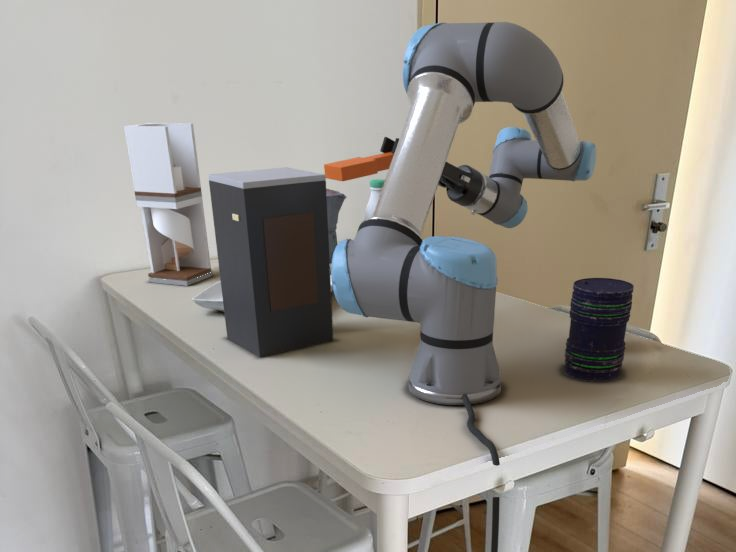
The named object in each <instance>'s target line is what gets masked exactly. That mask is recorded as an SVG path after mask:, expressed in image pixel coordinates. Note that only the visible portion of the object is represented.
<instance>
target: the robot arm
mask: <svg viewBox="0 0 736 552" xmlns="http://www.w3.org/2000/svg"><path fill="white" fill-rule="evenodd" d="M403 55H404V56H403V64H404V65H403V67H402V73H401V75H402V84H403V88H404V91H405V93H406V96H407V99H408V103H409V104H410V107H409V110H408V113H407V116H406V119H405V122H404V124H403V127H402V130H401V133H400V136H399V138H398V137H396V138H395V140H393V139H391V138H390V137H388V136H384V138H383V140H382V143H381V146H380V151H379V152H380V153H382V154H383V153H388V152H391V153H393V154H394V156H393V159H392V162H391V165H390V167H389V169H387V173H386V176H385V178H384V180H385V182H384V185H383V188H382V190H381V193H380V196H379V199H378V202H377V205H376V208H375V210H374V213H373V216H372V217H371V218H368V219H365V218H364V220H362V221H361V222H360V224H359V226H358V229H357V231H356V233H355V237H354V238H353V239H352V238H346V239H343V240H341V241H339V242H337V246H336V248H335V250H334V253H333V258H332V262H331V263H330V264H331V265H330V275H331V279H332V286H333V291H332V292H333V295H334V297H335V299H336V302H337V304H338V305H339V306H340V308H341V309H342V310H343V311H344V312H346V313H348V314H352V315H358V316H362V317H364V318H375V319H386V320H392V321H402V322H409V323H418V324H419V330H420V331H419V332H420V334H419V338H420V339H419V345H418V348H417V350H416V353H415V357H414V359H413V363H412V365H411V368H410V371H409V374H408V391H409V392H410V394H412V395H413V396H414V397H416V398H418V399H419V400H423V401H424V402H428V403H432V404H437V405H446V406H464V407H465V411H466V412H467V416H468V418H467V421H466V427H467V428H468V430H469V432H470V433H472V435H473V436H475V438H477V440H478V441H479V442H480V443H482V445H484V446H486V448H487V449H488V450H489V453H490V457H491V461H492V465H493V466H497V467H499V466H500V464H501V462H500V456H499V453H498V450H497V447H496V445H495V444H494V442H493V441H492V440H491V439H489V438H488V437H486V436H485V434H484V433H483V432H481V430H479V429H478V428H477V427H476V426H475V424H474V422H475V419H476V415H475V410H474V408H473V406H472V405H475V404H481V403H485V402H488V401H491V400H493V399H495V398H496V397H498V396H499V394H500V393H501V391H502V381H503V380H502V379H503V377H502V375H501V369H500V367H499V363H498V359H497V357H496V356H497V355H496V352H495V348H494V343H493V342H494V328H495V327H494V325H495V311H496V296H497V286H498V274H497V273H498V271H497V270H498V268H497V267H498V266H497V265H498V263H497V261H498V260H497V255H496V254H495V252H494V251H493V250H492V248H490V247H489V246H488V245H486V244H484V243H481V242H479V241H476V240H473V239H469V238H464V237H458V236H445V235H435V236H429V237H426V238H423V236H422V234H423V231H424V229H425V226H426V222H427V219H428V218H429V217H428V216H429V213H430V210H431V208H432V204H433V201H434V198H435V195H436V192H437V189H438V186H439V187H441V188H444V189H446V194H447V195H446V196H447V198H448V199H449V200H450V202H451V201H452V202H453V203H455V204H457V205H459V206H461V207H464V208H466V209H468V210H470V214H471V215H474V216H475V215H476V214H477V215H480V216H481V217H483V218H484V219H487V220H489V221H490V222H492V223H493V224H494V225H498V226H501V227H503V228H506V229H514V228H516V227H517V226H519V225H520V224H521V223H523V221H524V219H525V218H526V216H527V213H528V209H529V208H528V207H529V206H528V202H527V199H526V198H525V197H524V196H523V195H522V194H521V192H522V191H521V190H522V187H523V182H524V179H534V180H550V181H551V180H552V181H566V182H568V181H569V182H570V181H571V182H576V181H577V182H578V181H579V182H580V181H585V182H586V181H588V180H590V179H591V178H592V176H593V175H594V172H595V168H596V163H597V146H596V144H595V143H594V142H589V141H585V140H581V141H580V139H579V136H578V132H577V130H576V127H575V124H574V121H573V118H572V115H571V113H570V109H569V106H568V104H567V101H566V98H565V95H564V93H563V89H564V84H565V78H564V73H563V70H562V67H561V64H560V61H559V60H558V58H557V56H556V55H555V54H554V52H553V50H552V49H551V48H550V47H549V46H548V45H547V44H546V43H545V42H544V41H543V40H542V39H541V38H540V37H538V36H537V35H536V34H535V33H533V32H532V31H530V30H529V29H527V28H526V27H523V26H522V25H519V24H516V23H513V22H508V21H494V22H450V23H447V22H437V23H434V24H428V25H423V26H421V27H419V28H418V29H417V30H416V31H415V32H414V33H412V36H411V37H410V39H409V40H408V43H407V45H406V48H405V52H404V54H403ZM494 102H495V103H496V102H497V103H498V102H499V103H508V104H512V106H513V107H514V108H515V109H516V110H517V111H518V112H520V113H521V114H523V116H524V119H525V120H526V122H527V124H528V126H529V129H530V130H531V132H532V134H533V136H534V139H535V140H533V139H532V135H531V133H530V132H529V130H527V129H526V128H523V127H517V126H508V127H504V128H502V129H501V130H500V131H499V132H498V133H497V137H496V140H495V144H494V147H493V150H492V157H491V163H490V166H489V167H490V168H489V173H488V175H486V174H485V173H483V172H481V171H479V170H477V169H475V168H474V167H472V166H470V165H469V164H461V165H459V166H455V165H453V164H452V163H449V162H448V161H447V160H448V157H449V153H450V150H451V147H452V144H453V142H454V139H455V135H456V132H457V129H458V126H459V125H460V124H462V123H464V122H466V121H467V120H468V119H469V118H470V117H471V115H472V113H473V109H474V106H475V104H476V103H494ZM500 501H501V500H500V496H492V509H491V511H492V512H491V545H490V552H499V533H500Z"/></svg>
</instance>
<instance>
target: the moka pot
mask: <svg viewBox="0 0 736 552" xmlns="http://www.w3.org/2000/svg"><path fill="white" fill-rule="evenodd" d="M326 196H327V217H328V239H329V261H330V263H332V258H333V253H334V250H335V248H336V246H337V244H338V235H337V231H336V230H337V224H338V222H339V221H338V220H339V214H340V211H341V210H342V207H343V204H344V201H345V200H346V199H347V195H346V194H344V193H341V192H340V191H338V190H334V189H330V188H326Z"/></svg>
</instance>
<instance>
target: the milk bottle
mask: <svg viewBox="0 0 736 552" xmlns="http://www.w3.org/2000/svg"><path fill="white" fill-rule="evenodd" d="M384 182H385V178H384V179H382V178H377V179H375V178H374V179H370V181H369V187H370V188H369V189H370V196H369V198H368V202H367V204H366V207H365V213H364V220H365V219H368V218H371V217H372V216H373V213H374V210H375V208H376V205H377V202H378V199H379V196H380V193H381V190H382V188H383V185H384Z"/></svg>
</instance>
